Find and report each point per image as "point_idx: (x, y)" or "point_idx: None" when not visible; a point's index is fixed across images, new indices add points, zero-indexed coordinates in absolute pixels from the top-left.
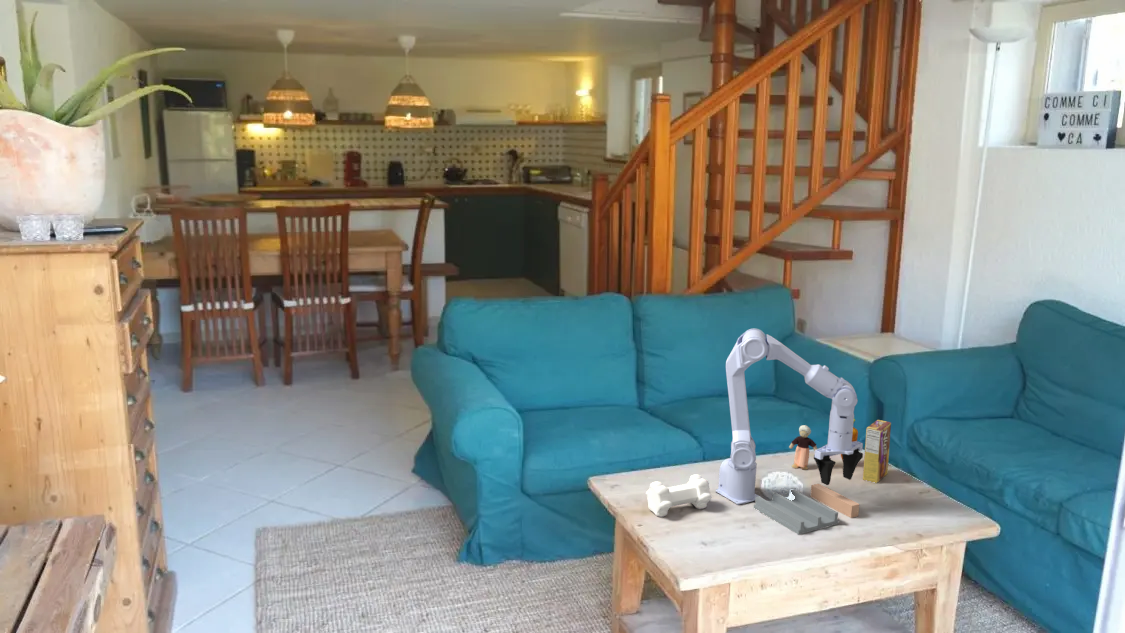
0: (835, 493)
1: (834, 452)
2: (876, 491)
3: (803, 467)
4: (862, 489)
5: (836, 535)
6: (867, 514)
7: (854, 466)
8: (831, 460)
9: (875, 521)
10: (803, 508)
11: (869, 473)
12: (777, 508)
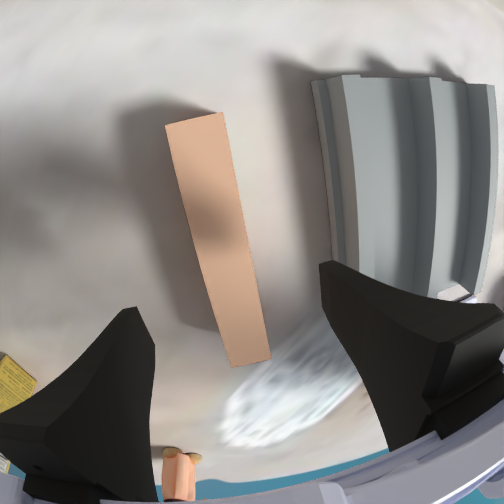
0: (217, 272)
1: (483, 459)
2: (14, 313)
3: (177, 453)
4: (50, 337)
5: (373, 15)
6: (120, 133)
7: (88, 364)
8: (451, 374)
9: (129, 63)
10: (441, 172)
11: (15, 387)
12: (494, 203)
